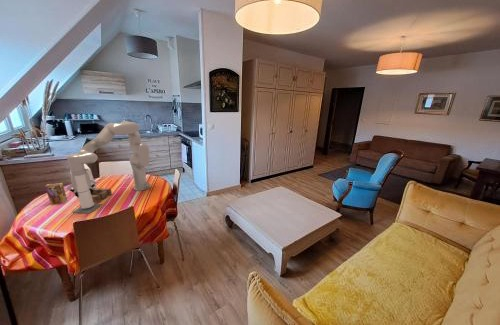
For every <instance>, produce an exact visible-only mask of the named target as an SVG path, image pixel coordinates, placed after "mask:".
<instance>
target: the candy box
mask: <svg viewBox="0 0 500 325" xmlns="http://www.w3.org/2000/svg"><path fill="white" fill-rule="evenodd" d="M44 188H45V191H46V193H47V196H48V200H49V202H50V205H57V204H65V203H67V202H68V197H67V195H66V191H65V187H64V183H63V182H56V183H47V184H46V185H44Z"/></svg>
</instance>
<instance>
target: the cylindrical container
mask: <svg viewBox="0 0 500 325" xmlns="http://www.w3.org/2000/svg"><path fill="white" fill-rule="evenodd" d="M74 177H75V180H76V184H77V193H78V201H79V204H80V207H81V208H83V209H85V208H90V207H92V206H93V205H94V204H95V203H93V199H92V195H91V192H90V188H89V186H88V185H87V182H86V178H85V174H84V175H80V176H74ZM86 177H87V176H86Z"/></svg>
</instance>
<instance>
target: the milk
mask: <svg viewBox="0 0 500 325" xmlns="http://www.w3.org/2000/svg"><path fill="white" fill-rule="evenodd" d="M84 166H85V169H88V171H86V172H87V173H88V175H89V177H90V180H92V181H95V179H94V176H93V173H92V170H91V168H90V167H89V166H88V164H84ZM69 173H70V175H71V174H72V173H71V170H69ZM92 185H93V183H92V182H91V186H92ZM96 185H97V184H95V186H94V187H93V188H97V186H96Z"/></svg>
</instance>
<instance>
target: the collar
mask: <svg viewBox="0 0 500 325" xmlns="http://www.w3.org/2000/svg"><path fill="white" fill-rule="evenodd" d="M112 193H113V192H112V189H111V188H104V187H103V188H102V187H101V188H97V187H96V188H93V193H92V194H91V195H92V199H93V203H94V204H100V203H101V202H103V201H104V200H106V199H107V198H108V197H109V196H112Z"/></svg>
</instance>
